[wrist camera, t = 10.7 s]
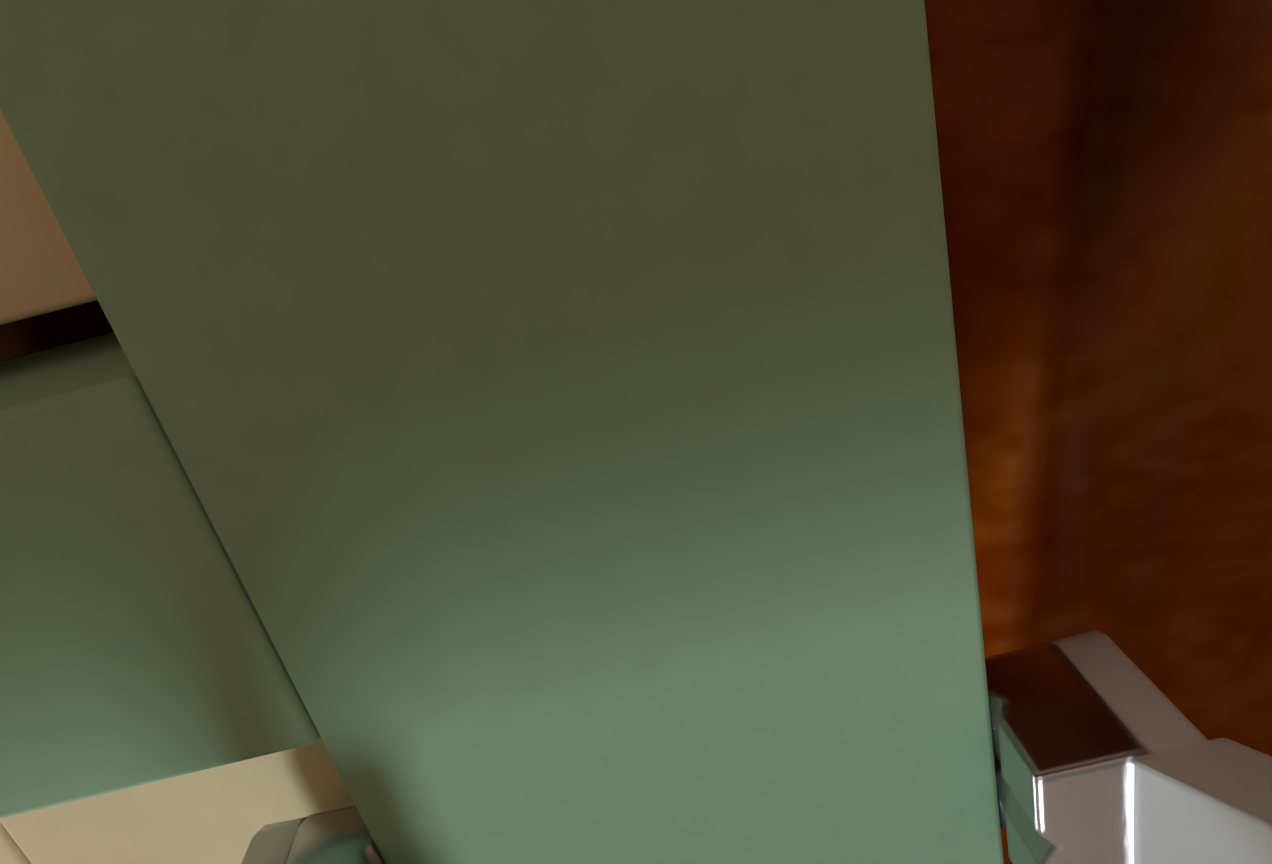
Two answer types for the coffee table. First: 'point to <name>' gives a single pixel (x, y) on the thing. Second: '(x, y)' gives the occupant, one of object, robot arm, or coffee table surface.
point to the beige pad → (174, 807)
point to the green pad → (501, 426)
